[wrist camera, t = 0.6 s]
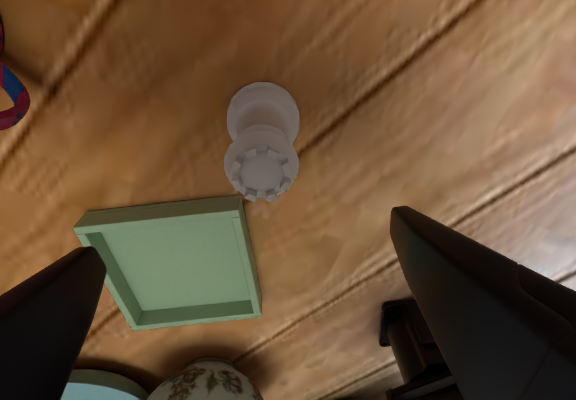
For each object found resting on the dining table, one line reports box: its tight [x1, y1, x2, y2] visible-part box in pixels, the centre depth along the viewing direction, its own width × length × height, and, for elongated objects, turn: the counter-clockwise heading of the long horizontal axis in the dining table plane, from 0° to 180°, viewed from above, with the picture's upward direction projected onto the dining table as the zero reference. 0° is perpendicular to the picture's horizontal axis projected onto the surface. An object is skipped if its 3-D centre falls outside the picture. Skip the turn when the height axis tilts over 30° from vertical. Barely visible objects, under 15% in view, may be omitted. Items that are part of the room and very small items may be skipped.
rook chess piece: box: [224, 82, 300, 202], centre depth 16 cm, size 4×4×8 cm
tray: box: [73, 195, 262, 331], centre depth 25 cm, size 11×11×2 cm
